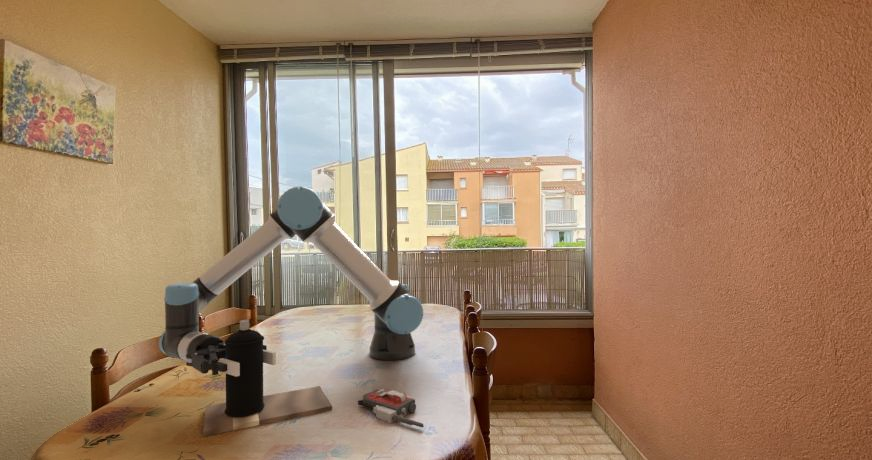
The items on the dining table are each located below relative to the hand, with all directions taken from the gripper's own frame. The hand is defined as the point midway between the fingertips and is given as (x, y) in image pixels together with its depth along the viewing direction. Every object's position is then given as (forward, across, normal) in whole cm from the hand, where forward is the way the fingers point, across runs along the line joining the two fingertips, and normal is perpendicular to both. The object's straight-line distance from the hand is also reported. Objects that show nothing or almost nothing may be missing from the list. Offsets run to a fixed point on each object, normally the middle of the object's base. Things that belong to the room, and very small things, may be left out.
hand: (256, 364), depth 92 cm
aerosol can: (-5, 0, -11) cm, 12 cm away
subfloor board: (-2, -4, -12) cm, 13 cm away
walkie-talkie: (+24, -19, -13) cm, 33 cm away
